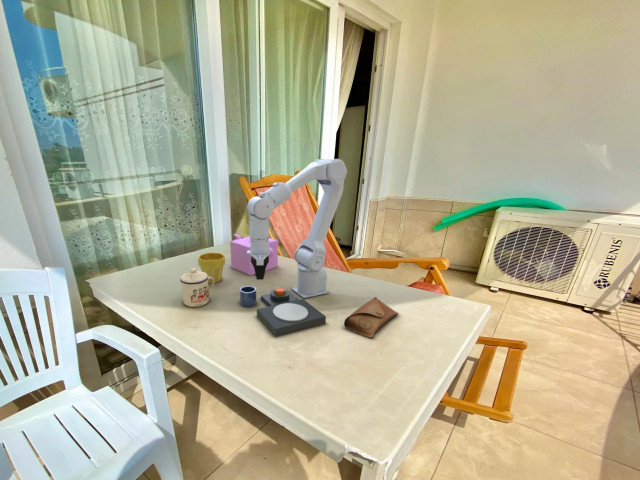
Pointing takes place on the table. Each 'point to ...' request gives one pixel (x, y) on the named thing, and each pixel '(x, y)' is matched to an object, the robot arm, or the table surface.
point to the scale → (290, 317)
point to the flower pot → (212, 265)
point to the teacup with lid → (195, 288)
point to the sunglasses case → (369, 318)
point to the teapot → (243, 260)
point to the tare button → (279, 291)
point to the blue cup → (248, 296)
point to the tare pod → (278, 298)
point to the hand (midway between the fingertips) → (260, 278)
